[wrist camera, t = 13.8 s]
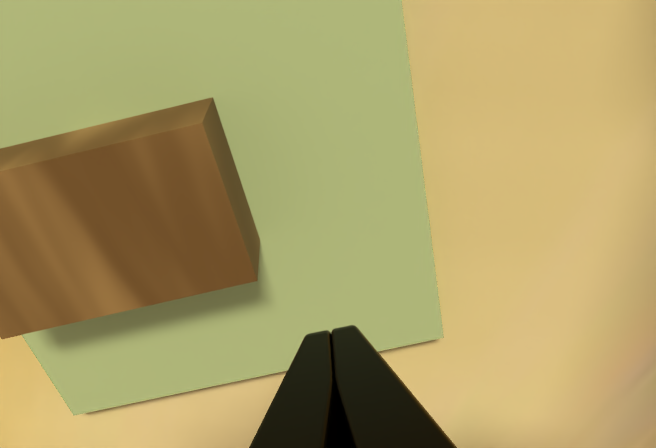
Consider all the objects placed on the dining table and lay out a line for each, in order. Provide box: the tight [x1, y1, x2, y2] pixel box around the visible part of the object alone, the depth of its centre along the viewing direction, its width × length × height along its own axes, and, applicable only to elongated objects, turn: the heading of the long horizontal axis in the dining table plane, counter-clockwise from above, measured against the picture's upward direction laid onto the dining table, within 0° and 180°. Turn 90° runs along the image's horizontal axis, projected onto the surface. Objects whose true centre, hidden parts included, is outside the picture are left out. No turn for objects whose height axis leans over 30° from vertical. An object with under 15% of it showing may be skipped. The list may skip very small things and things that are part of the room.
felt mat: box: [0, 0, 444, 415], centre depth 17 cm, size 15×17×1 cm
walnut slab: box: [0, 97, 260, 339], centre depth 16 cm, size 2×5×8 cm
